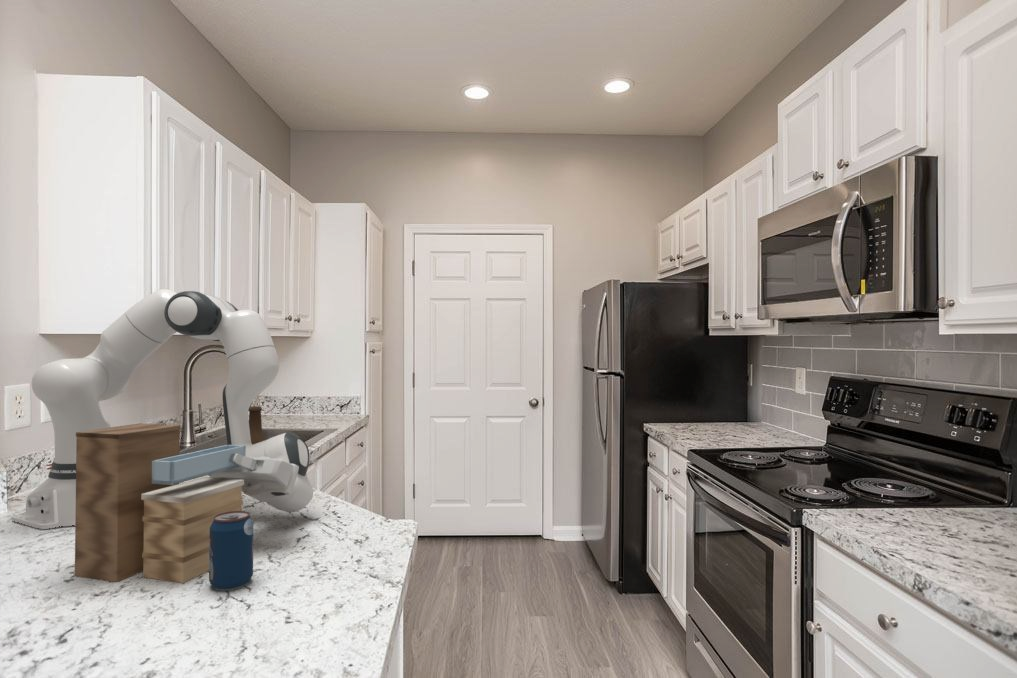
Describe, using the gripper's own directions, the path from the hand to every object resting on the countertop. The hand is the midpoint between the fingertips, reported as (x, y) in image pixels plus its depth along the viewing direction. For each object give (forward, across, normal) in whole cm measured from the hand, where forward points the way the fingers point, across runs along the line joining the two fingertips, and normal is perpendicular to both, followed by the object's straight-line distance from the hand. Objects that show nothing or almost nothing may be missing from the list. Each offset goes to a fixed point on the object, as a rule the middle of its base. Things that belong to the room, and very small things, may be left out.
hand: (220, 456), depth 115 cm
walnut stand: (-1, -12, +22) cm, 25 cm away
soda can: (0, +13, +23) cm, 26 cm away
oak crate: (-4, 0, +20) cm, 21 cm away
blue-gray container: (+3, 0, +4) cm, 5 cm away
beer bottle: (-52, -33, -7) cm, 62 cm away
